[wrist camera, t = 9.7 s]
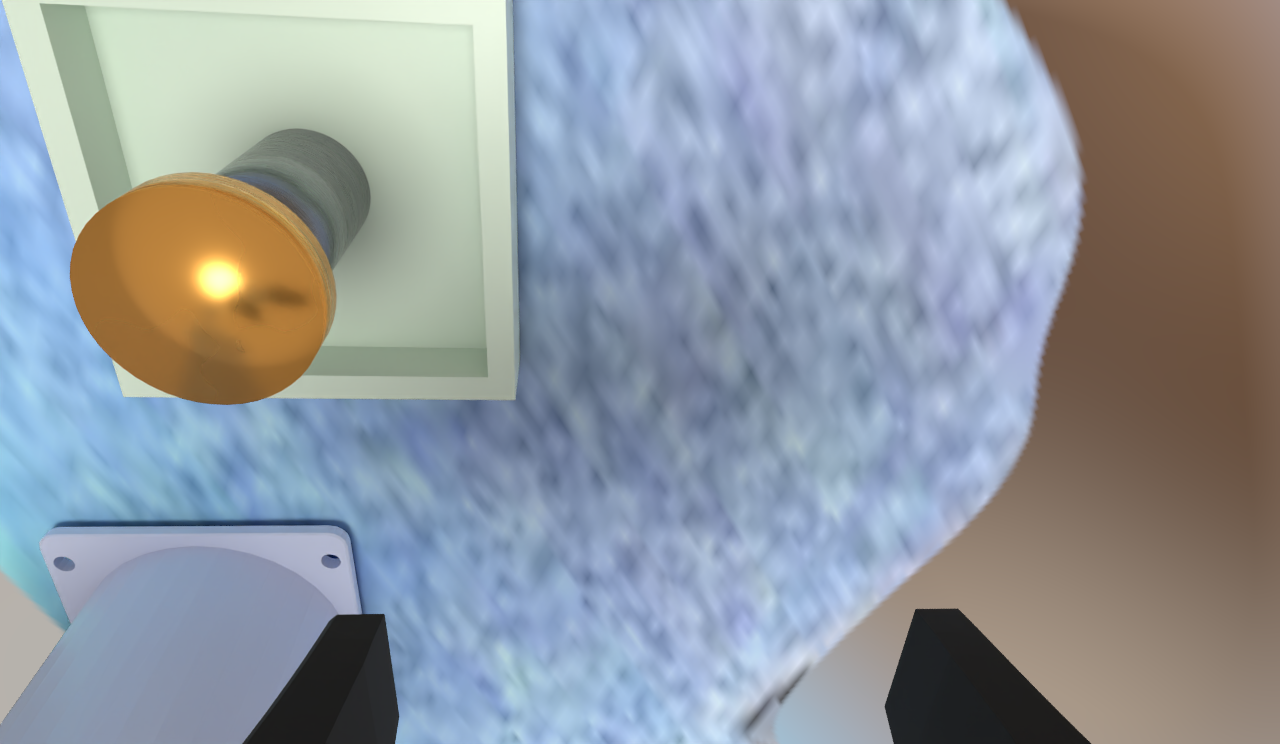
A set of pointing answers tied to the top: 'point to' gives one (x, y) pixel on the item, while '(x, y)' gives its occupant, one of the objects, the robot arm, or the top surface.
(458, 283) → the parts tray
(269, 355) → the pin
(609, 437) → the top surface
